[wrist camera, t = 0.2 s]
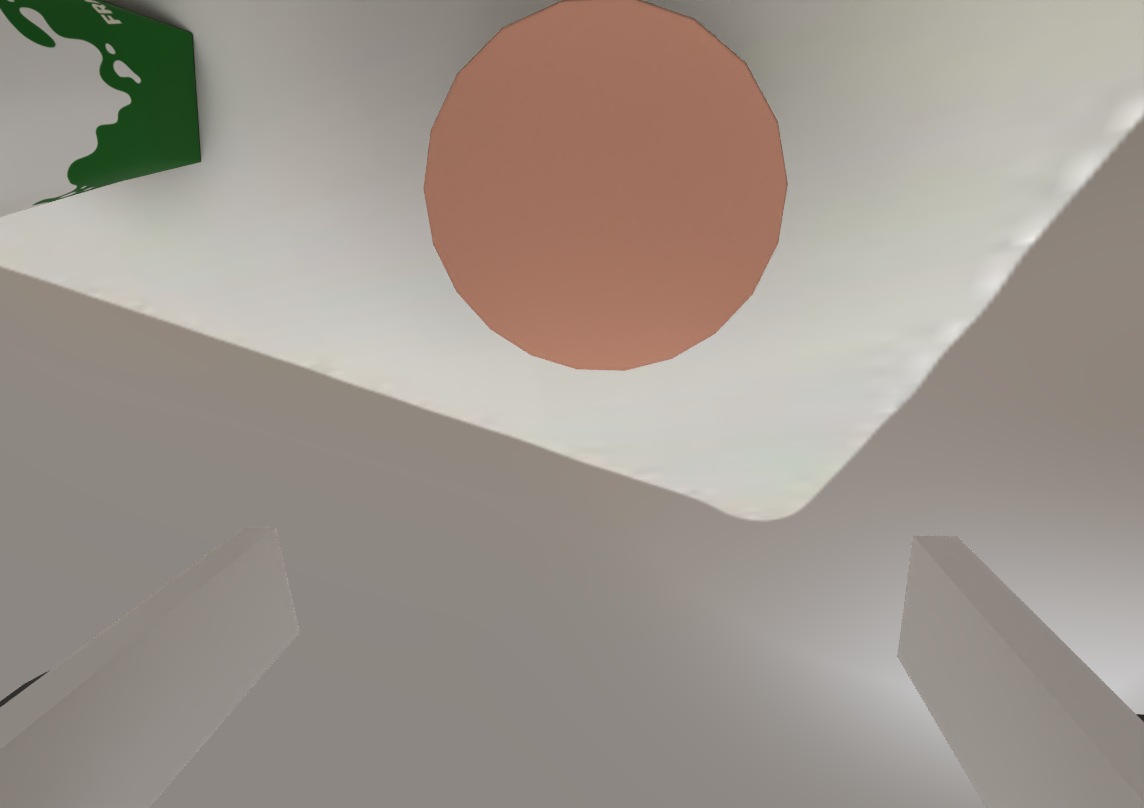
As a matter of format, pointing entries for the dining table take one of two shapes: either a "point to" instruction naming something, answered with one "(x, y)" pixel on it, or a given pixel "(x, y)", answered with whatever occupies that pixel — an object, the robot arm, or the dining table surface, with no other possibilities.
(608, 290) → the coffee jar
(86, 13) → the soya milk
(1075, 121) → the dining table surface
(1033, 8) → the dining table surface
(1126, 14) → the dining table surface
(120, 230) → the dining table surface
